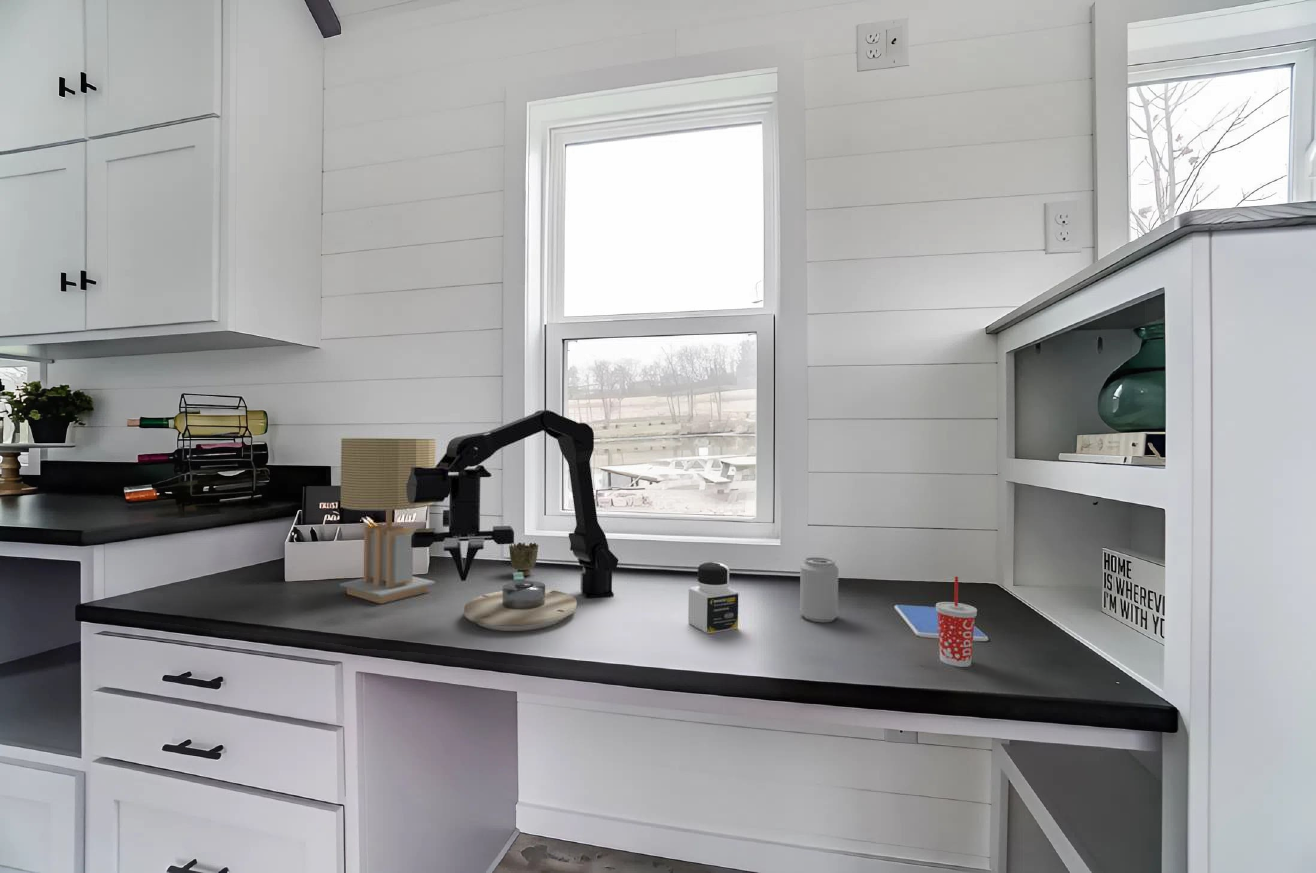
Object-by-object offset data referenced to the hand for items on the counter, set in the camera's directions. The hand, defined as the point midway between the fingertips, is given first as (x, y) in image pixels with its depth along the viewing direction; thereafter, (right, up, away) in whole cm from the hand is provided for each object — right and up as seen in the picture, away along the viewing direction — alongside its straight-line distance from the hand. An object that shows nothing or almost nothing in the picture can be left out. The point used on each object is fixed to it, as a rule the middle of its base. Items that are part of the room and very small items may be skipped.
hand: (463, 580), depth 112 cm
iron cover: (+11, -6, +4) cm, 13 cm away
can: (+71, -9, +5) cm, 72 cm away
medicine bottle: (+49, -9, -1) cm, 50 cm away
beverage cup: (+87, -9, -17) cm, 90 cm away
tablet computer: (+94, -10, +3) cm, 95 cm away
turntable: (+11, -6, +4) cm, 13 cm away
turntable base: (+11, -8, +4) cm, 14 cm away
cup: (+3, -8, +37) cm, 38 cm away
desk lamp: (-24, -8, +19) cm, 31 cm away
